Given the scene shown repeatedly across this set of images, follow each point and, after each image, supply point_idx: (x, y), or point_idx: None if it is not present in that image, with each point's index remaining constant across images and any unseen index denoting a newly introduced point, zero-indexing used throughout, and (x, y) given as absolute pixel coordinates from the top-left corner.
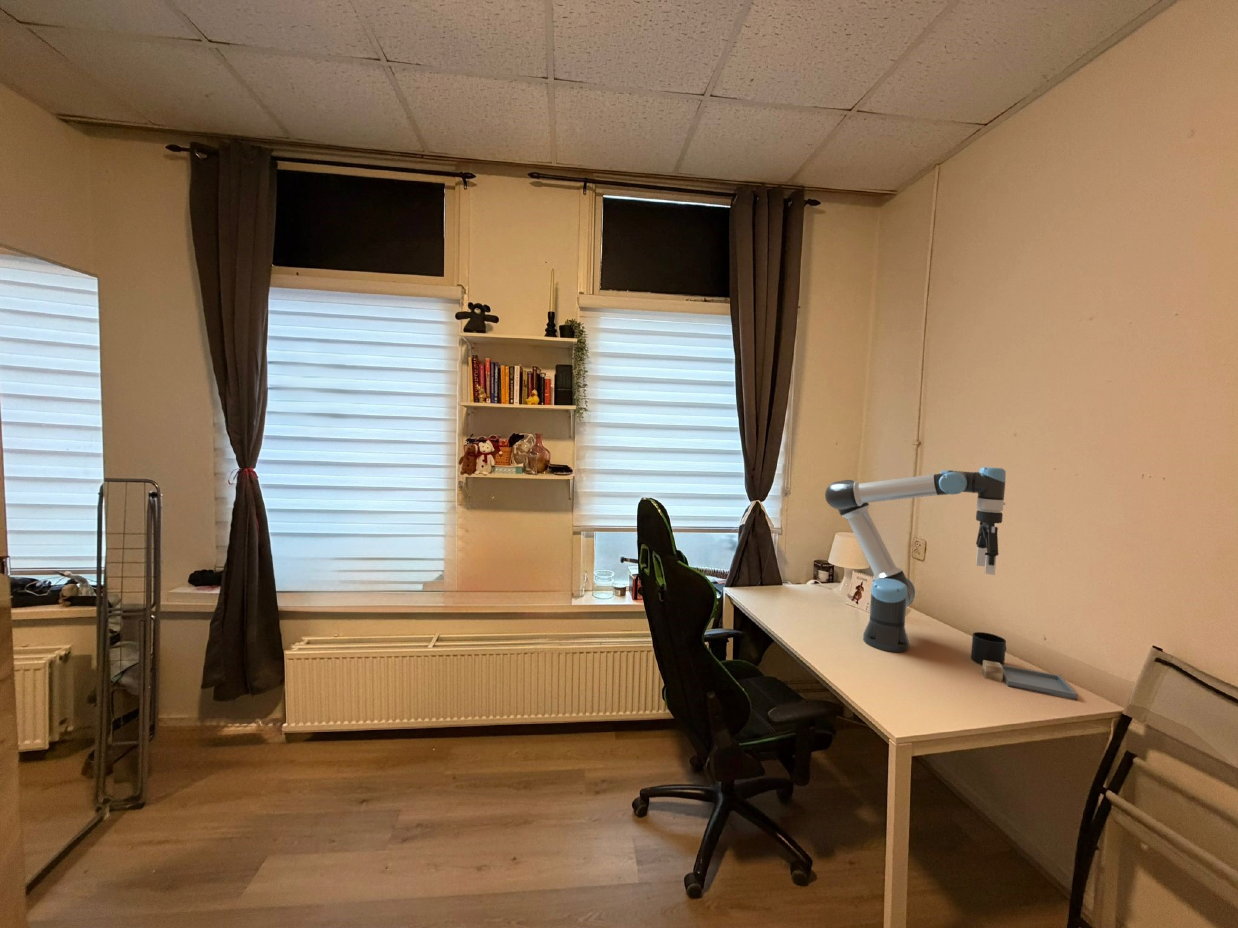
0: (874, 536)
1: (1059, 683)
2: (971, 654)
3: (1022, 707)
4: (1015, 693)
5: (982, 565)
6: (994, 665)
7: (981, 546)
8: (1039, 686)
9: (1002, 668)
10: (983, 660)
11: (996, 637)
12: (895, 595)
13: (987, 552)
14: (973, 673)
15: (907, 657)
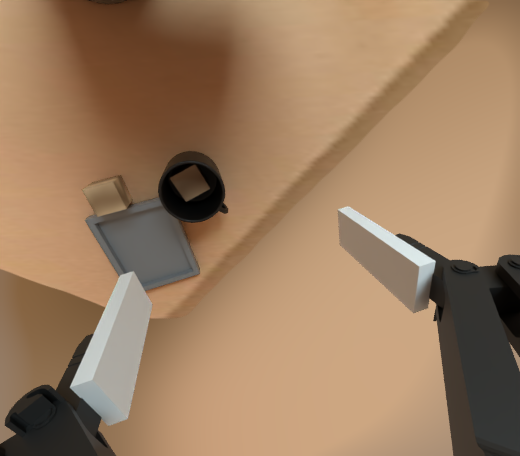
0: None
1: (177, 271)
2: (183, 153)
3: (2, 241)
4: (64, 228)
5: (340, 235)
6: (97, 202)
7: (443, 292)
8: (111, 257)
9: (97, 215)
10: (108, 183)
11: (219, 203)
12: None
13: (51, 423)
14: (97, 162)
15: (44, 7)
